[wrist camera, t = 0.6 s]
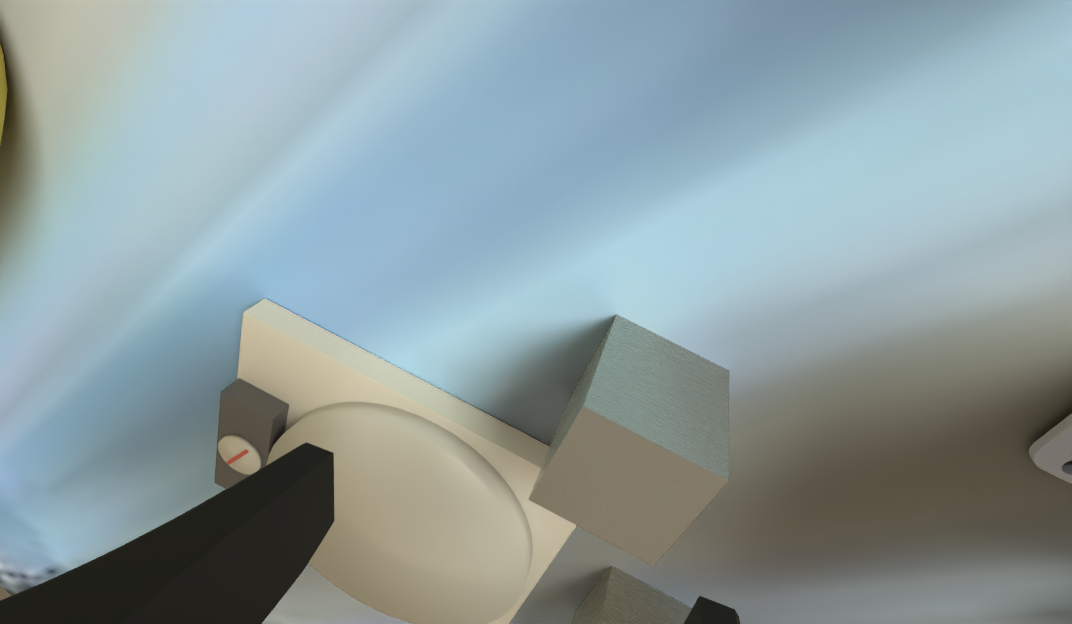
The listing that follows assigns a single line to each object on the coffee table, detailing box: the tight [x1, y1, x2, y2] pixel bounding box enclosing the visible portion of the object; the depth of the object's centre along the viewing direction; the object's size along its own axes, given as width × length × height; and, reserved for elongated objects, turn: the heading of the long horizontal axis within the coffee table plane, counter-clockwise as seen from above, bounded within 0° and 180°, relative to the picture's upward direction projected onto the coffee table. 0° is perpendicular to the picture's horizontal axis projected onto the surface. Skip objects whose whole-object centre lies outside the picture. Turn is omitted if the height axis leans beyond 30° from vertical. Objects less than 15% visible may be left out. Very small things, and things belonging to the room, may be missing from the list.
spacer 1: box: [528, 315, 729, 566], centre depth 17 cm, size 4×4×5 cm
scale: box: [215, 299, 577, 624], centre depth 25 cm, size 15×13×2 cm
